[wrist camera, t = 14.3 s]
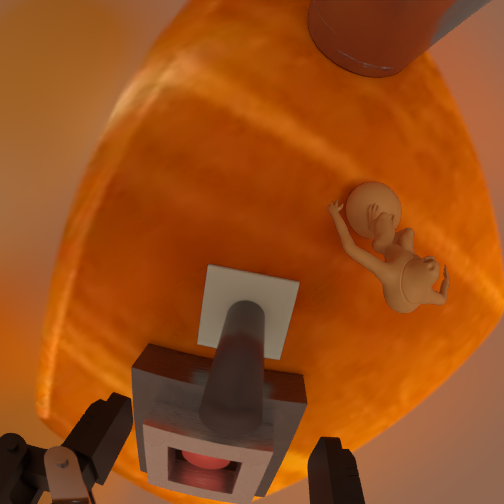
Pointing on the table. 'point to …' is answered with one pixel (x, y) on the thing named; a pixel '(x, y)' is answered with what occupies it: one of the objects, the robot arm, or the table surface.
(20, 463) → the robot arm
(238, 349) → the dark grey cylinder
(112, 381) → the table surface
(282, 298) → the pad
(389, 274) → the figurine
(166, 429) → the box
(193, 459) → the button
